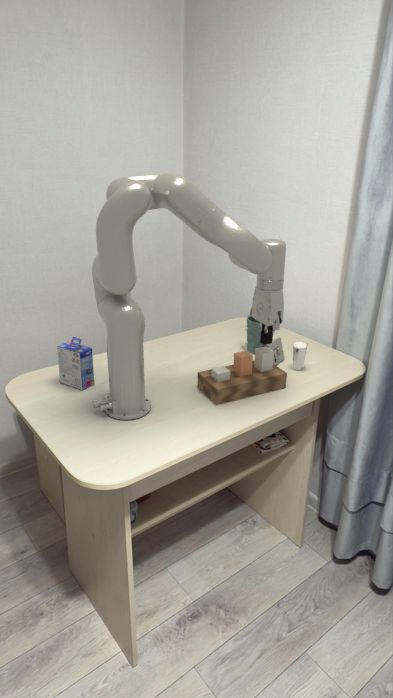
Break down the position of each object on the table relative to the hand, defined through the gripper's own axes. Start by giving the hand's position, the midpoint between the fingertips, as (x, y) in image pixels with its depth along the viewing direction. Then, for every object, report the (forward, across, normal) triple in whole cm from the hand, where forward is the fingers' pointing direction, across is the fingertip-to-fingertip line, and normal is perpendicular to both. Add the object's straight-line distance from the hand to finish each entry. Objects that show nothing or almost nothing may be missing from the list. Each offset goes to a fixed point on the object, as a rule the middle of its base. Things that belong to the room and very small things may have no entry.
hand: (266, 343), depth 140 cm
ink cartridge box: (+13, -24, -52) cm, 59 cm away
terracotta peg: (+9, 0, -8) cm, 12 cm away
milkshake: (+14, -3, +16) cm, 21 cm away
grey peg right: (+9, 0, 0) cm, 9 cm away
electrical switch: (+14, -11, +11) cm, 21 cm away
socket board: (+13, 0, -8) cm, 15 cm away
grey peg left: (+12, 0, -16) cm, 20 cm away
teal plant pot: (+14, -22, +13) cm, 29 cm away
